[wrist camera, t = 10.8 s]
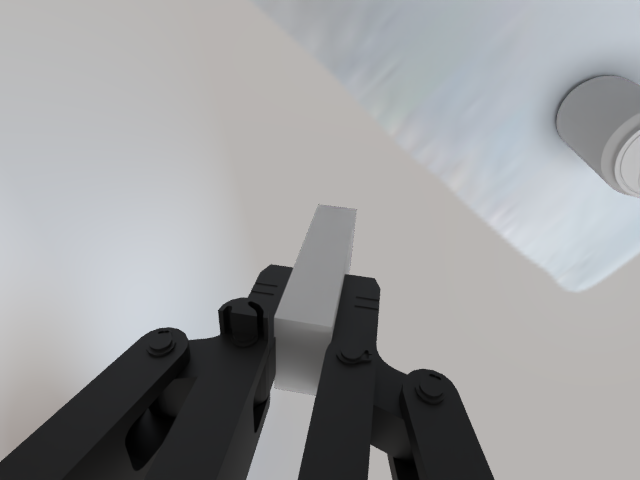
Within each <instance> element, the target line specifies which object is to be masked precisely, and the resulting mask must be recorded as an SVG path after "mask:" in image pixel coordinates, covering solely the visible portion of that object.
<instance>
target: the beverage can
mask: <svg viewBox="0 0 640 480" xmlns="http://www.w3.org/2000/svg"><path fill="white" fill-rule="evenodd" d="M556 125H557V131H558V133H559V136H560V137H561V139H562V140H563V141H564V142H565V143H566V144H567V145H568V146H569V147H570V148H571V149H572V150H573V151H574V152H575V153H576V154H577V155H578V156H579V157H580V158H581V159H582V160H583V161H585V162H586V163H587V164H588V165H589V166H590V167H591V168H592V169H593V170H594V171H595V172H596V173H597V174H598V175H599V176H600V177H601V178H602V179H603V180H604V181H605V182H606V183H607V184H608V185H609V186H611V187H612V188H613V189H614V190H616V191H618V192H620V193H623V194H626V195H630V196H634V197H637V198H640V85H639V84H636V83H634V82H632V81H629V80H627V79H624V78H622V77H618V76H600V77H596V78H593V79H590V80H588V81H586V82H584V83H582V84H580V85H579V86H577V87H576V88H575V89H574V90H573V91H571V92H570V93H569V94H568V96H567V97H566V98H565V99H564V101H563V102H562V104H561V106H560V108H559V111H558V114H557V120H556Z"/></svg>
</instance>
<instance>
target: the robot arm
mask: <svg viewBox="0 0 640 480" xmlns="http://www.w3.org/2000/svg"><path fill="white" fill-rule="evenodd" d="M356 211H357V209H351V208H343V207H335V206H327V205H319V204H318V207H317V209H316V212H315V214H314V217H313V219H312V222H311V225H310V227H309V230H308V232H307V235H306V237H305V240H304V243H303V245H302V247H301V250H300V253H299V255H298V258H297V260H296V263H295V265H294V268H292V267H286V266H279V265H269V266H268V267H267V268H266V269H264V270H263V271H262V272H260V274H259V276H258V278H257V280H256V282H255V285H254V286H253V288H252V290H251V293H250V294H249V296H248V298H238V299H233V300H230V301H229V302H227V303H225V304H223V305H222V306H221V308H220V309H219V310H218V313H219V323H220V335H219V336H216V337H213V338H207V339H197V340H188V338H187V337H186V334H185V333H184V332H182V331H181V330H179V329H175V328H159V329H156V330H153V331H150V332H149V333H147V334H146V335H144V336H143V337H141V338H140V339H139V340H138V341H137V342H135V343H134V344H133V345H132V346H131V347H130V348H129V349H128V350H127V351H125V352H124V353H123V354H122V355H121V356H120V357H119V358H117V359H116V360H115V361H114V362H113V363H112V364H111V365H110V366H108V367H107V368H106V369H105V370H104V371H103V372H102V373H100V375H98V376H97V377H96V378H95V379H94V380H92V381H91V382H90V383H89V384H88V385H87V386H86V387H85V388H83V389H82V390H81V391H80V392H79V393H78V394H77V395H75V396H74V397H73V398H72V399H71V400H70V401H69V402H68V403H67V404H65V405H64V406H63V407H62V408H61V409H60V410H59V411H57V412H56V413H55V414H54V415H53V416H52V417H51V418H50V419H48V420H47V421H46V422H45V423H44V424H43V425H42V426H40V427H39V428H38V429H37V430H36V431H35V432H34V433H33V434H31V435H30V436H29V437H28V438H27V439H26V440H25V441H23V442H22V443H21V444H20V445H19V446H18V447H17V448H16V449H14V450H13V451H12V452H11V453H10V454H9V455H8V456H7V457H5V458H4V459H3V460H2V461H1V462H0V480H246V478H247V475H248V472H249V468H250V465H251V462H252V459H253V456H254V453H255V450H256V446H257V443H258V440H259V437H260V434H261V431H262V428H263V424H264V421H265V418H266V415H267V412H268V409H269V405H270V390H271V387H272V384H273V381H275V383H274V384H275V388H276V389H281V390H287V391H292V392H298V393H303V394H309V395H314V396H316V398H315V403H314V407H313V412H312V416H311V421H310V426H309V430H308V435H307V439H306V444H305V449H304V453H303V458H302V462H301V467H300V472H299V477H298V480H368V468H369V455H370V444H371V445H373V446H374V447H376V448H378V449H380V450H382V451H384V452H385V453H387V454H388V460H389V465H390V470H391V475H392V479H393V480H494V477H493V475H492V473H491V470H490V468H489V465H488V463H487V461H486V458H485V456H484V454H483V451H482V449H481V446H480V444H479V442H478V439H477V437H476V434H475V432H474V429H473V427H472V425H471V422H470V420H469V417H468V415H467V413H466V410H465V408H464V405H463V403H462V401H461V398H460V396H459V393H458V391H457V389H456V388H455V386H454V385H453V383H452V382H451V381H450V380H449V379H448V378H446V377H445V376H444V375H443V374H440V373H438V372H436V371H434V370H427V369H419V370H414V371H412V372H410V373H409V374H408V375H407V374H404V373H402V372H400V371H398V370H396V369H394V368H392V367H391V366H389V365H388V364H386V363H385V362H384V361H383V360H382V359H381V357H380V356H379V354H378V351H377V347H376V341H377V327H378V313H379V300H380V287H379V285H378V284H377V282H376V280H375V278H369V277H362V276H355V275H349V270H350V265H351V256H352V247H353V238H354V229H355V219H356Z"/></svg>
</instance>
